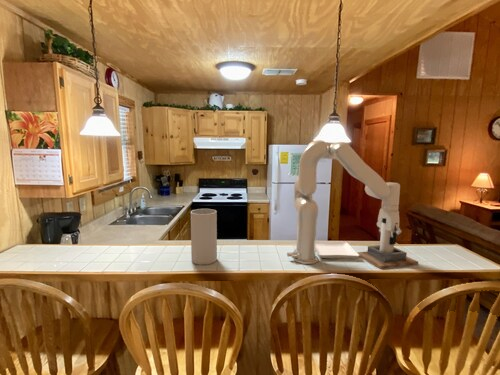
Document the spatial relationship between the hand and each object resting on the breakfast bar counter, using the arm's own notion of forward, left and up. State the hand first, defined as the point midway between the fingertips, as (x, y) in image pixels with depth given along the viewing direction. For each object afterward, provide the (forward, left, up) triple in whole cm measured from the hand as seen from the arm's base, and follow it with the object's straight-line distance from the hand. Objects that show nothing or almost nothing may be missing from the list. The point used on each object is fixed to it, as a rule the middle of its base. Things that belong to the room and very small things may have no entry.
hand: (387, 241), depth 138 cm
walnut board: (0, 0, -10) cm, 10 cm away
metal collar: (0, 0, -8) cm, 8 cm away
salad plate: (-21, +15, -10) cm, 28 cm away
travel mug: (0, 0, -7) cm, 7 cm away
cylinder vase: (-90, +21, -10) cm, 93 cm away
